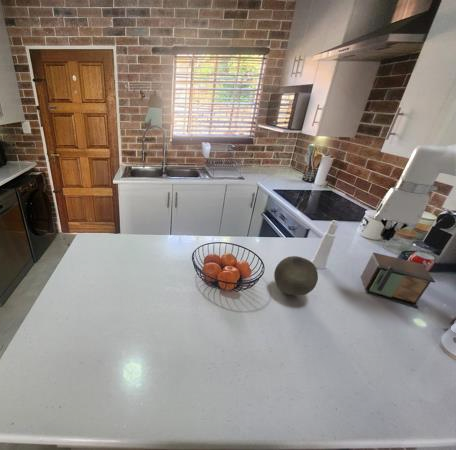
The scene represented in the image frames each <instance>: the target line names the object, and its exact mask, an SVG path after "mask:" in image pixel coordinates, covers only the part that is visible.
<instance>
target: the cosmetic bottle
mask: <svg viewBox="0 0 456 450" xmlns="http://www.w3.org/2000/svg"><path fill="white" fill-rule="evenodd" d="M339 223H340V222H339V220H335V219H333V220H331V222H330V224H329V226H328V229H327V231H325V233H324V235H323V237H322V239H321V241H320V243H319V246H318V248H317V250H316V252H315V254H314V255H313V257H312V259H311V260H310V261H311V262H312V263H313V264H314V265H315V267H316V269H319V270H324V269H326V268H327V262H328V259H329V255H330V253H331V249H332V248H333V245H334V242H335V239H336V232H337V229H338V227H339Z"/></svg>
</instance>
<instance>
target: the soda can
mask: <svg viewBox="0 0 456 450" xmlns="http://www.w3.org/2000/svg"><path fill="white" fill-rule="evenodd" d="M435 259H436V258H435V257H434V255H432V254H430V253H427V252H424V251H414V253H412V254H410V256H409V257H408V259H406V260H407V261H412V262H416V263H420V264H423V265H424V267H425V268H426V270H427V271H428V272H429V273H430V271H431V270H432V268H433V267H434V265H435Z"/></svg>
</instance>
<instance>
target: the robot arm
mask: <svg viewBox="0 0 456 450" xmlns="http://www.w3.org/2000/svg"><path fill="white" fill-rule="evenodd" d="M440 174H445V175H449V176H453V177H456V143H454V144H450V145H447V146H442V145H435V144H420V145H417V146H416V147H415V148H414V150H413V151H412V153H411V155H410V157H409V159H408V161H407V163H406V166H405V167H404V170H403V171H402V173H401V175H400V177H399V179H398V181H397V183H396V184H395V187H390V189H389V190H388V191H387V192H386V193H385V195H384V197H383V198H382V200H381V202H380V203H379V204H378V206H377V208H376V210H375V214H374V216H373V219H374V220H375V221H377V222H378V223H381V224H382V225H383V227H382V230H381V232H380V234H379V236H380V238H381V240H383V241H387V242H390V241H391V239H393V238H394V236H395V235H396V233H397V232H399V231H400V230H403V229H404V228H412V229H413V228H416V227H417V224H418V223H419V222H420V221H421V219H422V217H423V215H424V213H425V211H426V208H427V207H428V203H429V199H430V192H436V191H437V190H438V189H439V188H438V186H436V185H434V184H435V182H436V180H437V179H438V178H439V177H438V176H440ZM393 222H394V223H393ZM392 223H393V224H392Z"/></svg>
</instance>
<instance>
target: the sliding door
mask: <svg viewBox="0 0 456 450" xmlns="http://www.w3.org/2000/svg"><path fill="white" fill-rule="evenodd" d="M393 270H394V268H393V267H390V266H389V267H388V269H387V270H382V269H381V270H380V272H379V274H378V276H377V278H376V279H375V281H374V283H373V285H372V287H371V288H370V291H371V292H375V293H378V294H381V295H385V296H388V297H392V295H393V294H394V292H395V290H396V289H397V287H398V285H399V284H400V282H401V281H402V279H403V277H404V275H401V274H397V273H393Z"/></svg>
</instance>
